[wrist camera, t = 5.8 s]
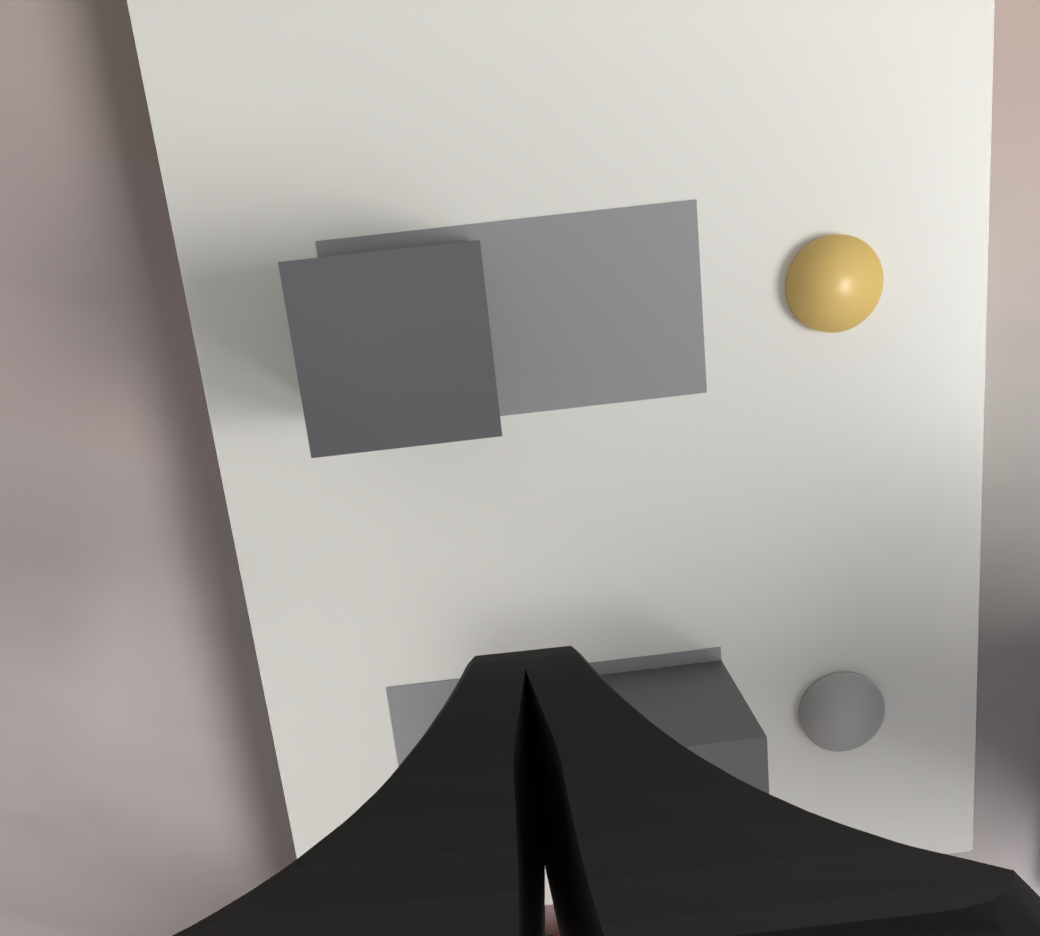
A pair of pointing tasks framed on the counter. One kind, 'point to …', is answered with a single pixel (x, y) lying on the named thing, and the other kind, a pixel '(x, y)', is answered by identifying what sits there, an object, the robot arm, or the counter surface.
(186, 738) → the counter surface
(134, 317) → the counter surface
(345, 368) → the block
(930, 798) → the breaker panel
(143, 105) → the counter surface
